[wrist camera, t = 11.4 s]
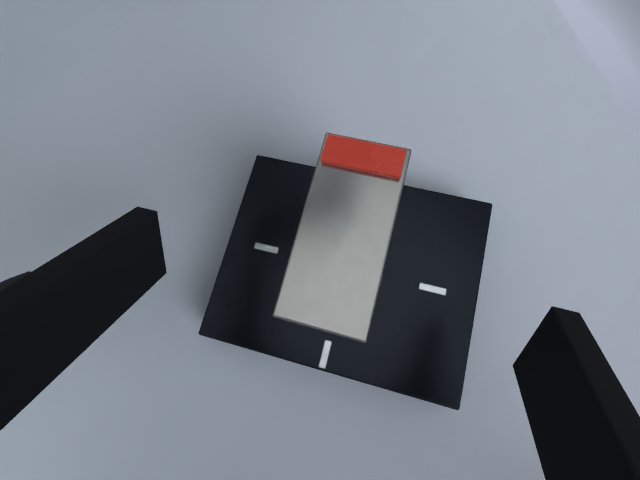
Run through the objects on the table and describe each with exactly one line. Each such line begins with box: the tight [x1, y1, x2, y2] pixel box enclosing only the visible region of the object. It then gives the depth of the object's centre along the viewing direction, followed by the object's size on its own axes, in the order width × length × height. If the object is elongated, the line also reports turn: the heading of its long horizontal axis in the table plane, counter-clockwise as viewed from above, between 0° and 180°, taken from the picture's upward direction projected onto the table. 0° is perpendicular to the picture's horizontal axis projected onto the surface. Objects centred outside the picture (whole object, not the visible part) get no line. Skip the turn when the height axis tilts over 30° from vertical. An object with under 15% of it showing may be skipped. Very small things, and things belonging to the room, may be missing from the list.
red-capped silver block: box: [273, 133, 411, 343], centre depth 15 cm, size 6×3×8 cm, turn 165°
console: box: [199, 155, 492, 410], centre depth 20 cm, size 14×11×2 cm
